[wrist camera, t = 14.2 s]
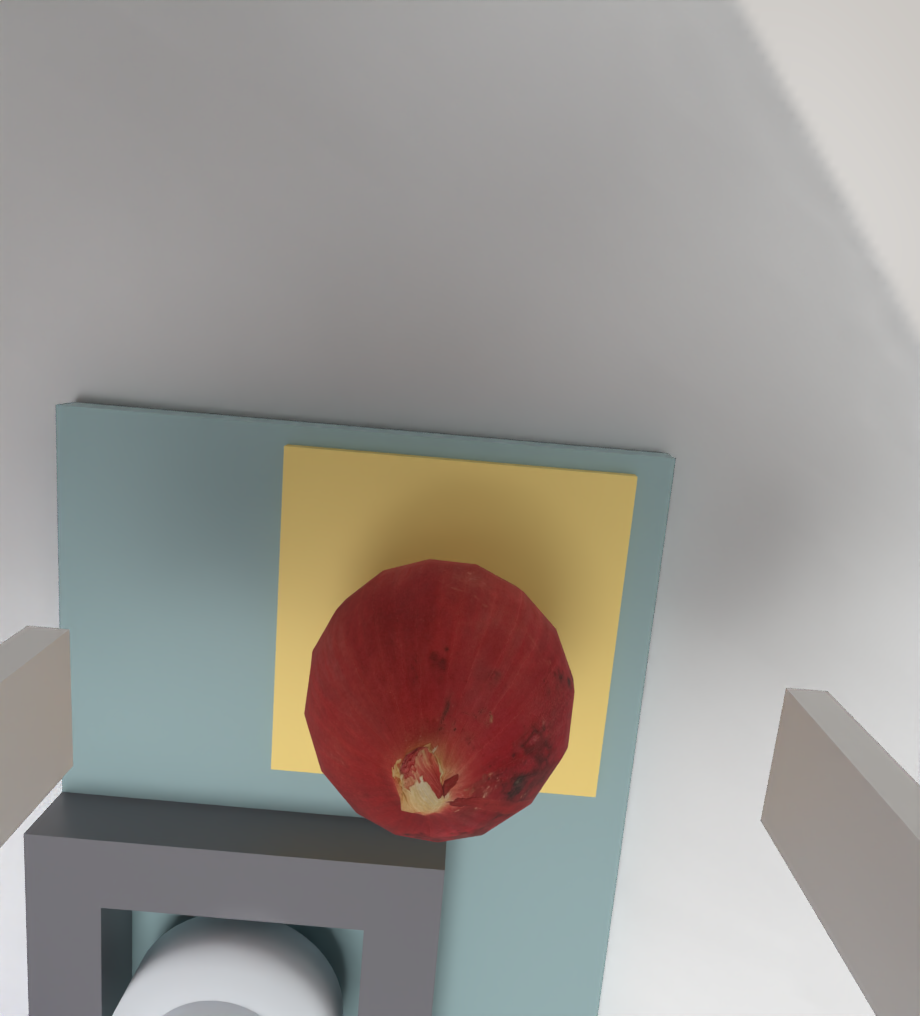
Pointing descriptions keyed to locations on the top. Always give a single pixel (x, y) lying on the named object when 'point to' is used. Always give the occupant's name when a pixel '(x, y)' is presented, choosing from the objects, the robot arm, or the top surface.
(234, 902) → the dome housing
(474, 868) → the board
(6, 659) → the robot arm
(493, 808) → the onion
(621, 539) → the pad
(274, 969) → the dome
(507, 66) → the top surface
